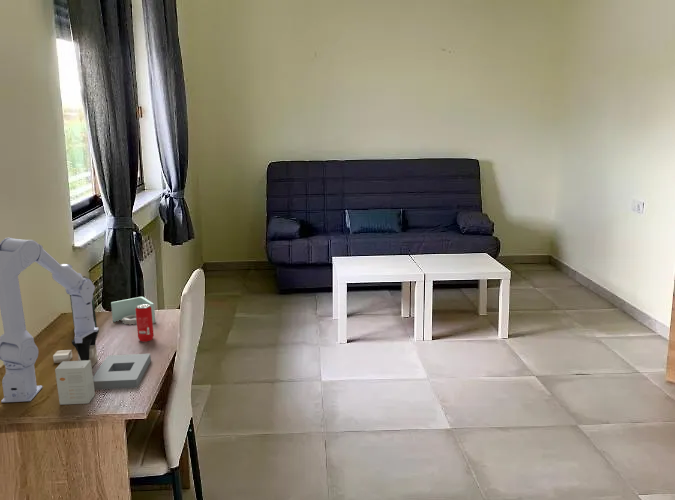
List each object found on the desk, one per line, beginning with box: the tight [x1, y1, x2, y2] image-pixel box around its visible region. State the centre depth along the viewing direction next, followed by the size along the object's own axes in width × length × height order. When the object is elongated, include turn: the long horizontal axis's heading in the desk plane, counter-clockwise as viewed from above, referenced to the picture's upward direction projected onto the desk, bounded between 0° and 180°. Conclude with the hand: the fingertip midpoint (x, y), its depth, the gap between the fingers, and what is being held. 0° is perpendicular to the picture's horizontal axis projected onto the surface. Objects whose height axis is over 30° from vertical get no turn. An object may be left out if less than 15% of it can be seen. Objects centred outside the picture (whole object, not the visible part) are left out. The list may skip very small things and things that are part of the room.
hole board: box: [93, 353, 152, 391], centre depth 199 cm, size 20×13×2 cm, turn 4°
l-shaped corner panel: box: [110, 296, 156, 326], centre depth 247 cm, size 12×12×8 cm
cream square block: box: [77, 344, 99, 367], centre depth 209 cm, size 4×4×5 cm
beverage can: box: [136, 304, 155, 343], centre depth 227 cm, size 5×5×12 cm
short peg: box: [52, 349, 73, 364], centre depth 212 cm, size 4×4×2 cm
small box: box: [54, 360, 96, 406], centre depth 182 cm, size 8×6×10 cm
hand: (87, 357), depth 209 cm, fingers open, 5 cm apart
